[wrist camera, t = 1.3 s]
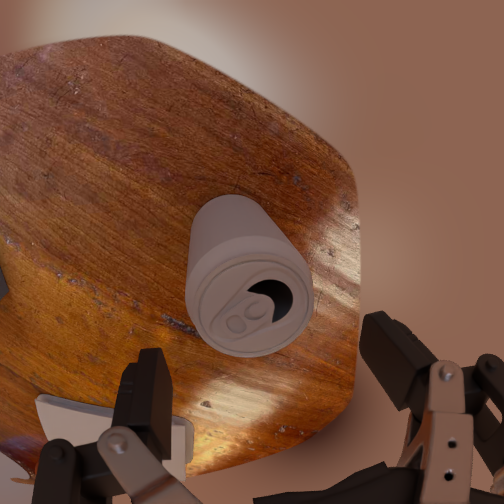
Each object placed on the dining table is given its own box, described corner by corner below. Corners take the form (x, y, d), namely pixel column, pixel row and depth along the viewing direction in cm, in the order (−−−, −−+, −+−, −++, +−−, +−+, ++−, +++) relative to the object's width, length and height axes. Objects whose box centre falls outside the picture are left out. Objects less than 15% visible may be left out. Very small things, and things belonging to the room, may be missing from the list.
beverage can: (282, 239, 25) (342, 318, 14) (220, 280, 25) (237, 381, 14) (241, 176, 22) (281, 215, 11) (175, 223, 23) (154, 301, 12)
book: (192, 465, 37) (193, 484, 34) (61, 445, 32) (57, 463, 29) (195, 416, 32) (196, 441, 28) (31, 389, 27) (22, 409, 24)
